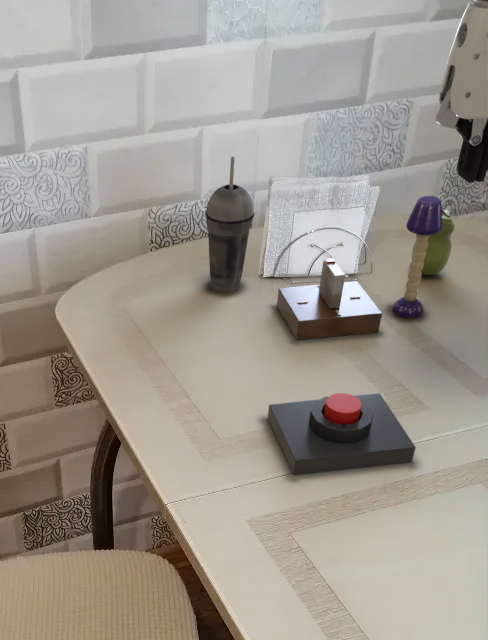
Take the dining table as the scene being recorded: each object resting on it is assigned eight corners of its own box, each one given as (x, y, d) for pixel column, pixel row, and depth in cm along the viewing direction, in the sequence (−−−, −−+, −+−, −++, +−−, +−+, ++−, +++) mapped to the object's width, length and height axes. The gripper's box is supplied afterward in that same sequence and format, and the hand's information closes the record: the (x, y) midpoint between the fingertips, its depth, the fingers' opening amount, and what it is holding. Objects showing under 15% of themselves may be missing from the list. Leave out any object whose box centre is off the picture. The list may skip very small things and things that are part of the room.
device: (376, 407, 100) (382, 380, 97) (412, 462, 91) (419, 434, 89) (267, 418, 99) (270, 392, 96) (293, 475, 90) (297, 447, 88)
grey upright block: (339, 307, 113) (345, 273, 109) (329, 308, 112) (335, 274, 109) (328, 291, 116) (333, 257, 113) (318, 292, 116) (323, 258, 113)
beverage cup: (249, 276, 127) (260, 146, 114) (247, 297, 122) (258, 164, 109) (204, 274, 128) (209, 145, 115) (199, 295, 123) (205, 162, 110)
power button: (352, 403, 94) (354, 391, 93) (364, 423, 91) (366, 411, 90) (319, 407, 94) (321, 394, 93) (330, 427, 91) (332, 414, 90)
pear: (443, 266, 127) (459, 205, 121) (445, 282, 124) (462, 219, 117) (407, 264, 128) (420, 203, 122) (408, 279, 125) (422, 216, 118)
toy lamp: (412, 322, 115) (439, 208, 104) (382, 312, 117) (406, 200, 106) (427, 309, 117) (455, 197, 106) (398, 300, 120) (422, 189, 109)
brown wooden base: (353, 299, 121) (357, 279, 118) (378, 332, 113) (382, 312, 111) (276, 306, 120) (278, 287, 118) (296, 340, 112) (298, 320, 110)
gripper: (462, -2, 74) (419, 196, 86) (615, -12, 75) (551, 184, 87) (428, -16, 79) (392, 171, 91) (571, -26, 80) (516, 161, 92)
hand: (470, 177), depth 89 cm, fingers closed
